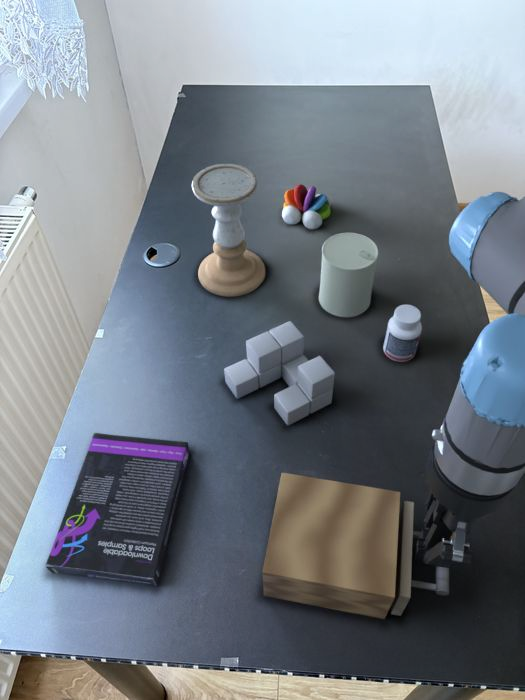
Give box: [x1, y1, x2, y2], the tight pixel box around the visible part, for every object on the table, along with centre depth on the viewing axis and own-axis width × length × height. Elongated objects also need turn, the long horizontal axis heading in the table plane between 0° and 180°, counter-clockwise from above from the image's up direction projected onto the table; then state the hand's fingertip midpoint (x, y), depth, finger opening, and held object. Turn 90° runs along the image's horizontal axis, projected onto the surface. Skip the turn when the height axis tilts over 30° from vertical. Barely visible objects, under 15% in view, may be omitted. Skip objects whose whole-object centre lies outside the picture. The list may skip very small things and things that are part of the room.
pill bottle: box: [382, 304, 423, 363], centre depth 94 cm, size 5×5×9 cm
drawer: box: [390, 500, 450, 617], centre depth 72 cm, size 18×11×7 cm, turn 79°
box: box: [45, 432, 190, 587], centre depth 79 cm, size 14×4×20 cm
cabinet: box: [262, 472, 401, 620], centre depth 73 cm, size 15×13×9 cm
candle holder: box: [191, 163, 266, 298], centre depth 102 cm, size 12×12×20 cm
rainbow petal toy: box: [281, 183, 331, 230], centre depth 117 cm, size 8×10×7 cm
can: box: [318, 232, 379, 318], centre depth 100 cm, size 9×9×12 cm
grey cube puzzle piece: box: [223, 320, 336, 426], centre depth 89 cm, size 12×12×8 cm
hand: (423, 559), depth 70 cm, fingers closed
